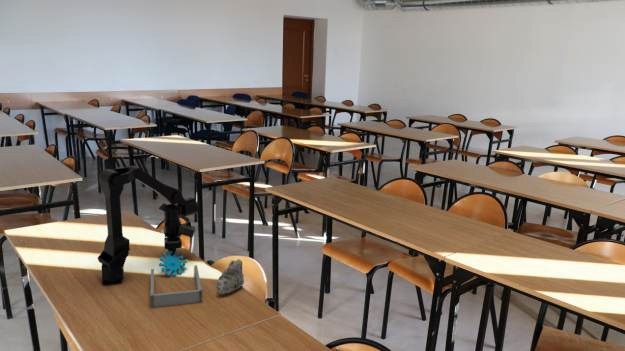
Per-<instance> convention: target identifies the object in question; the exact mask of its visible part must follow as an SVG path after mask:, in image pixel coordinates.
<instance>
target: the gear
mask: <svg viewBox="0 0 625 351" xmlns="http://www.w3.org/2000/svg"><path fill="white" fill-rule="evenodd" d="M167 254H168V256H167ZM171 254H172V251H168V253H167V252H163V253H162V256H161V257H159V259H158V260H159V261H161V262H159V263H158V267H159V268H160V267H162V268H161V269H160V270H161V272H162V273H165V272H166V271H167V272H166V273H165V275H166V276H168V277H169V276H170V275H171V273H172V272H173V273H172V277H177V274H178V275H182V274H183V271H184V270H185V269H186V266H185V265H186V264H188V262H189V259H187V258H186V259H185V260H182V259H184V256H183V254H181V255H180V256H178V255H179V252H178V251H176V252H175V253H174V255H173V256H171ZM177 272H178V273H177Z"/></svg>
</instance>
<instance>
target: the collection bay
mask: <svg viewBox="0 0 625 351" xmlns="http://www.w3.org/2000/svg"><path fill="white" fill-rule="evenodd" d="M193 267H194V268H193V274H194V275H193V276H194V281H195V288H196V290H195V289H194V290H183V291H174V292H163V293H155V269H154V268H151V269H150V291H149V292H150V296H149V297H150V308H158V307H168V306H170V307H171V306H178V305H188V304H195V303H203V289H202V283H201V279H200V274H199V269H198V265H197V264H196V265H194V266H193Z"/></svg>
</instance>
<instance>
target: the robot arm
mask: <svg viewBox="0 0 625 351" xmlns="http://www.w3.org/2000/svg"><path fill="white" fill-rule="evenodd" d="M135 180H136V181H138V182H139V183H141V184H142V185H144V186H146V187H147V188H149V189H151V190H153V191H154V192H155V193H156V195H157V196H158V197H159V198H160V199H161V200H163V201H164V202H167V204H166V203H164V202H163V203H162V204H161V205H160V206H159V207H158V210H160V211H163V214H164V215H163V216H164V220H163V222H164V227H163V234H164V237H163V238H164V239H163V241H164V250H167V251H168V252H169V251H172V254H171V256H173V255H174V253H175V252H177V249H182V248H183V242H182V241H183V240H182V239H181V237H182V236H185V237H188V238H191V239H192V238H193V237H194V234H195V232H196V229H195V226H194V225H192V222H191V221H188V220H186V221H185V222H184V223H182V222H181V217H183V218H184V217H185V218H186V217H189V216H193V215H196V214H198V212H199V205H198V203H197V201H196V198H195V197H192V196H191V197H189V198H184V197H183V192H182V191H181V190H180V189H178V188H175V187H172V186H169V185H167V184H164V183H163V182H162V181H159V180H158V179H157V178H155V177H153V176H152V175H151V174H148V173H147V172H146V171H144V170H143V169H142V168H140V167H138V166H136V165H129V166H126V167H119V168H118V167H117V168H114V169H110V168H106V169H103V170H102V171H101V172H100V173H99V174H98V183H99V186H100V189H101V191H102V193H103V195H104V199H105V212H106V224H107V237H106V239H105V240H104V246H103V250H102V252H101V253H100V254H99V255H98V256H97V260H98V263H100V264H101V268H100V269H101V279H102V280H101V285H102V286H106V285H107V286H108V285H117V284H122V283H123V280H124V278H125V271H124V269H125V268H124V266H125V263H126V260H127V257H128V256H129V253H130V251H131V248H130V239H128V238H127V237H126V236H124V235H123V222H122V219H123V218H122V207H121V206H122V205H121V195H122V193H123V191H124V187H125V185H127V184H129V183H131V182H133V181H135Z"/></svg>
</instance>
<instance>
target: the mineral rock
mask: <svg viewBox="0 0 625 351" xmlns="http://www.w3.org/2000/svg"><path fill="white" fill-rule="evenodd" d="M244 279H245V278H244V273H243V261H242V260H241V259H236V260H231V261H229V264H228V266H227V268H226V269H225V270H224V271H223V272H222V273H221V275H220V276H219V277H218V279H217V281H216V283H215V285H216V286H215V287H216V290H217V292H218V293H219V294H220V295H224V294H229V293H232V292H234V291H236V290H237V289H239V288H241V287H242V286H243V285H244V283H245V280H244Z"/></svg>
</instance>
